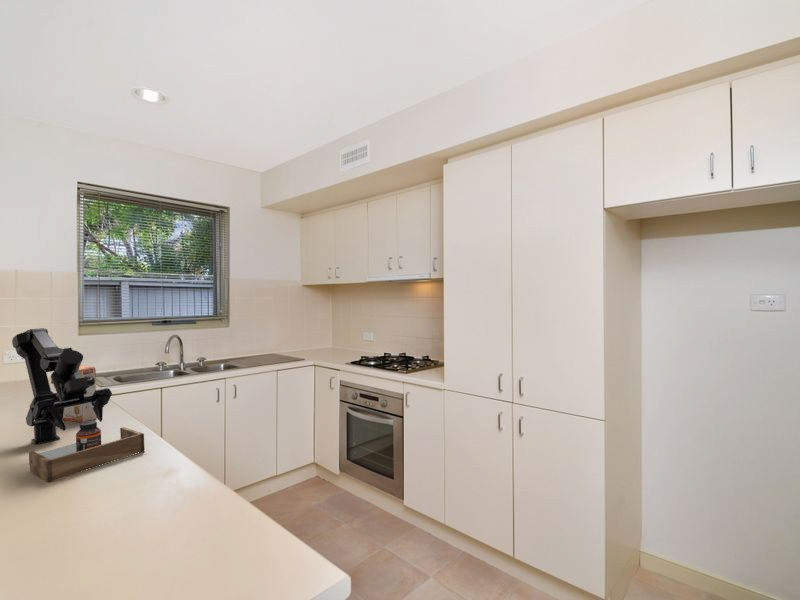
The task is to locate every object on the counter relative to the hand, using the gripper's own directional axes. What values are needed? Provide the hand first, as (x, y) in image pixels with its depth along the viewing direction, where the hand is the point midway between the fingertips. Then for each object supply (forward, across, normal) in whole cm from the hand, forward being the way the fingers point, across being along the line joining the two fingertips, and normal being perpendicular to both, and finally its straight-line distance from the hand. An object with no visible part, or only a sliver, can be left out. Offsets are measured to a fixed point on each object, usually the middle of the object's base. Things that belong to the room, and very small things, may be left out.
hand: (83, 425), depth 123 cm
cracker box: (-28, +17, +42) cm, 53 cm away
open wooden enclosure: (+9, 0, +5) cm, 11 cm away
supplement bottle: (+9, 0, +5) cm, 11 cm away
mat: (0, 0, +14) cm, 14 cm away
